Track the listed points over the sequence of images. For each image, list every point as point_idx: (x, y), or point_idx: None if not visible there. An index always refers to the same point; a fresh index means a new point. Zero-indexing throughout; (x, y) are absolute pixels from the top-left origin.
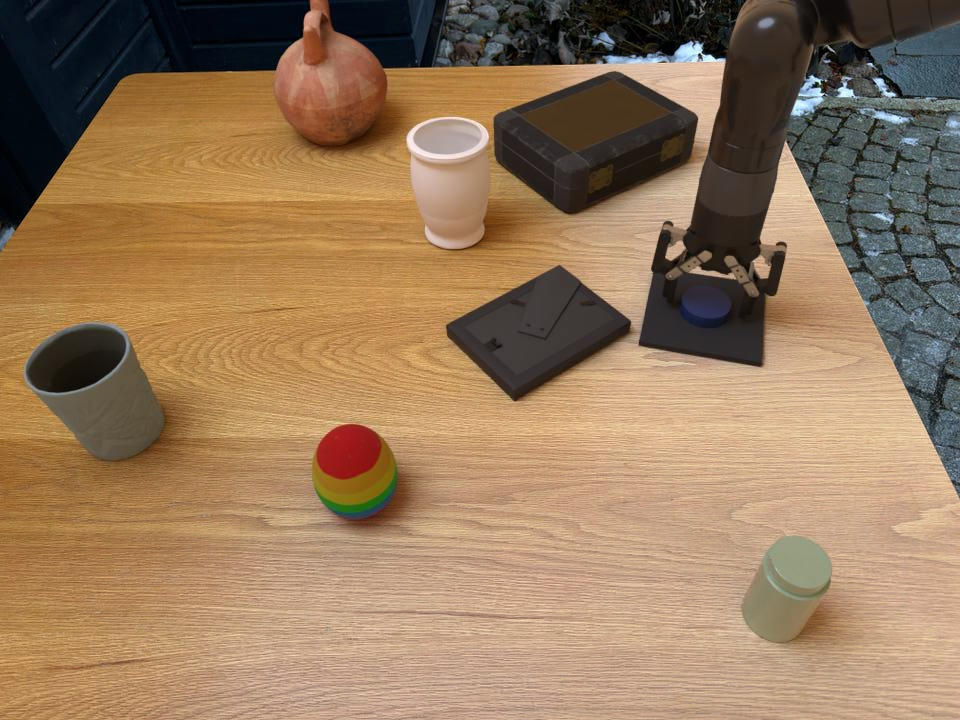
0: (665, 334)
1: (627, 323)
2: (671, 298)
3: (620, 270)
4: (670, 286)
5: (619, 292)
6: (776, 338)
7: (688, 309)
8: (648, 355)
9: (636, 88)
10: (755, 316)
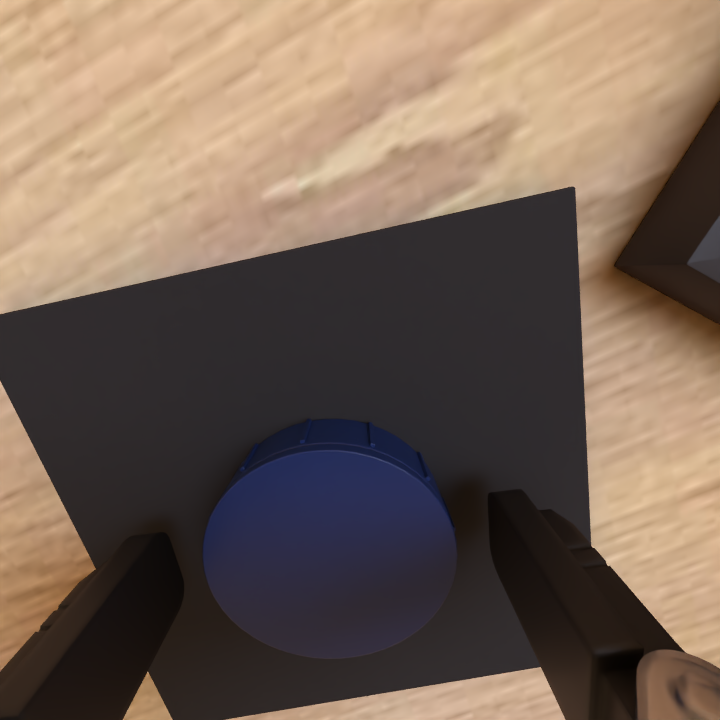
0: (456, 298)
1: (704, 234)
2: (513, 512)
3: (706, 594)
4: (590, 589)
5: (694, 485)
6: (37, 501)
7: (400, 477)
8: (490, 149)
9: None
10: None
